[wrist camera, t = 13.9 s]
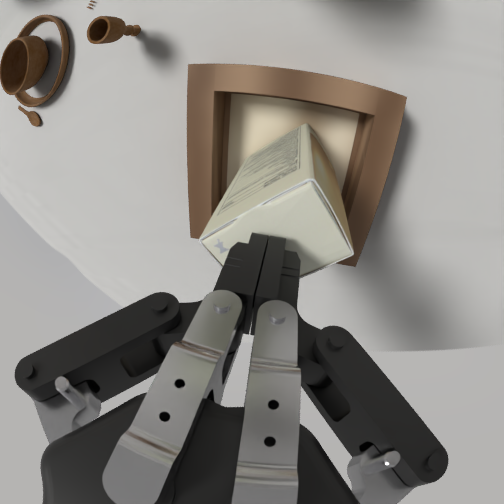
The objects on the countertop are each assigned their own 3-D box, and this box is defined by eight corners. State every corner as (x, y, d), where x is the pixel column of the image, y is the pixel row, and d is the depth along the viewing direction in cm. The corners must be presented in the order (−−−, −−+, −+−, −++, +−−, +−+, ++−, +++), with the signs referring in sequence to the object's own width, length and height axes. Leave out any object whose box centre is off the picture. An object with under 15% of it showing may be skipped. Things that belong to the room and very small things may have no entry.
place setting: (44, -12, 12) (8, -10, 7) (159, 17, 17) (121, 11, 12) (9, 104, 22) (-22, 118, 18) (96, 162, 27) (63, 186, 22)
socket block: (391, 91, 17) (406, 97, 14) (351, 240, 27) (355, 266, 24) (207, 63, 19) (188, 64, 16) (204, 215, 28) (190, 237, 25)
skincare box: (272, 197, 24) (244, 301, 15) (244, 157, 22) (190, 242, 13) (337, 164, 21) (358, 258, 12) (310, 119, 19) (313, 177, 10)
